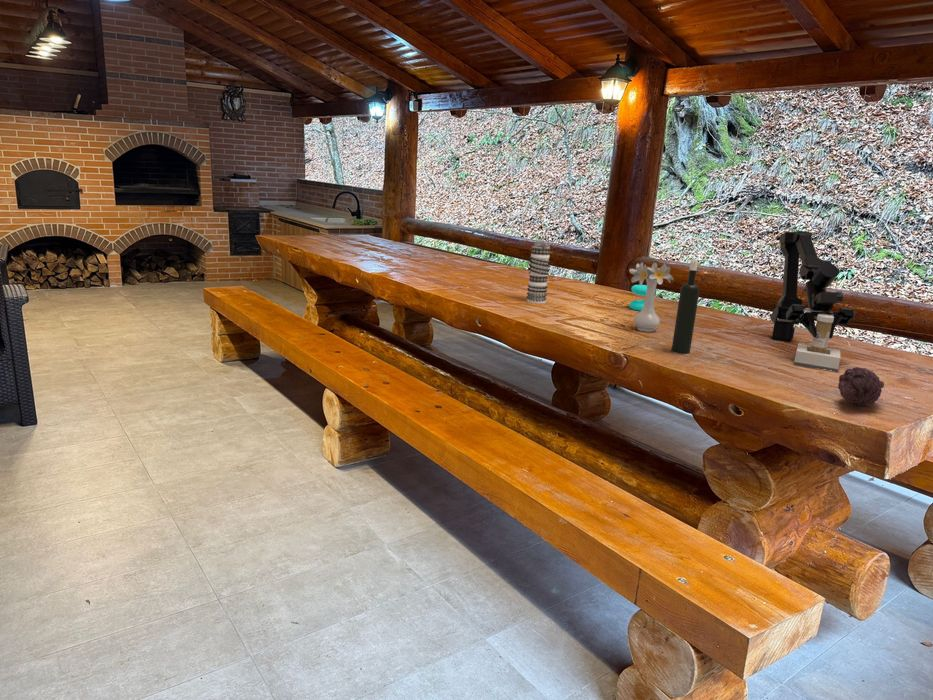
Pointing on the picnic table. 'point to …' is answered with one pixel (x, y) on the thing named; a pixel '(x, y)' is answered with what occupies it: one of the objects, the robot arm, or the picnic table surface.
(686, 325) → the wine bottle
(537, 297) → the decorative candle
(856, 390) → the pine cone
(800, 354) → the socket block
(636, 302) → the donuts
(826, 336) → the sprinkles bottle
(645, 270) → the flower vase
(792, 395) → the picnic table surface
